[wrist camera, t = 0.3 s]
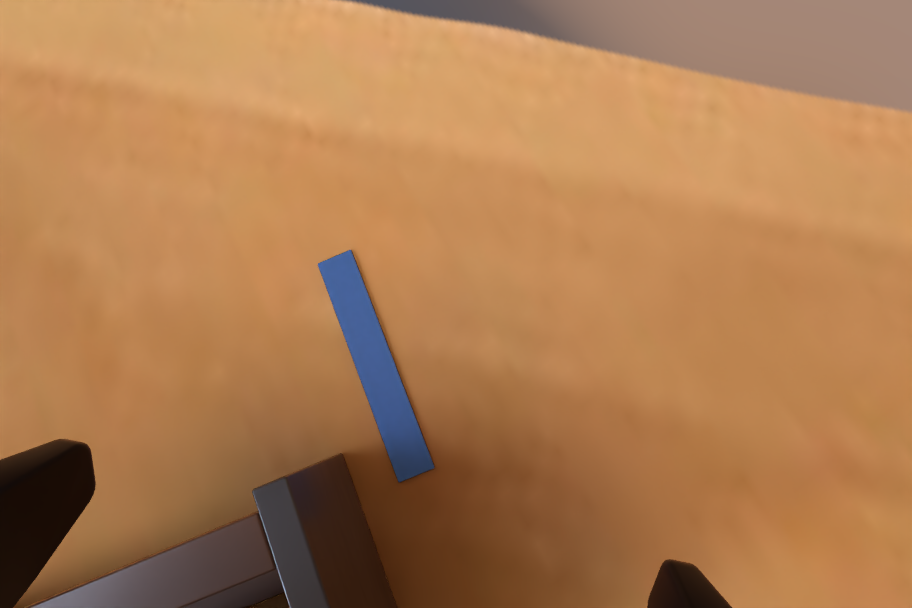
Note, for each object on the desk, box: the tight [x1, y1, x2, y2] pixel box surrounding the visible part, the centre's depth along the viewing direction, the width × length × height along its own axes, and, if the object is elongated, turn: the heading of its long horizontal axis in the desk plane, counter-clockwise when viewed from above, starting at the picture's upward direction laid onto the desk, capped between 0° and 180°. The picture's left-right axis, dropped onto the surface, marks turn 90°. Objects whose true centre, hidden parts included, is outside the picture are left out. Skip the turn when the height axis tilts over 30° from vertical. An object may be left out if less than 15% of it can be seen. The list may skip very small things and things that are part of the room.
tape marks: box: [318, 250, 435, 482], centre depth 24 cm, size 10×25×1 cm, turn 112°
